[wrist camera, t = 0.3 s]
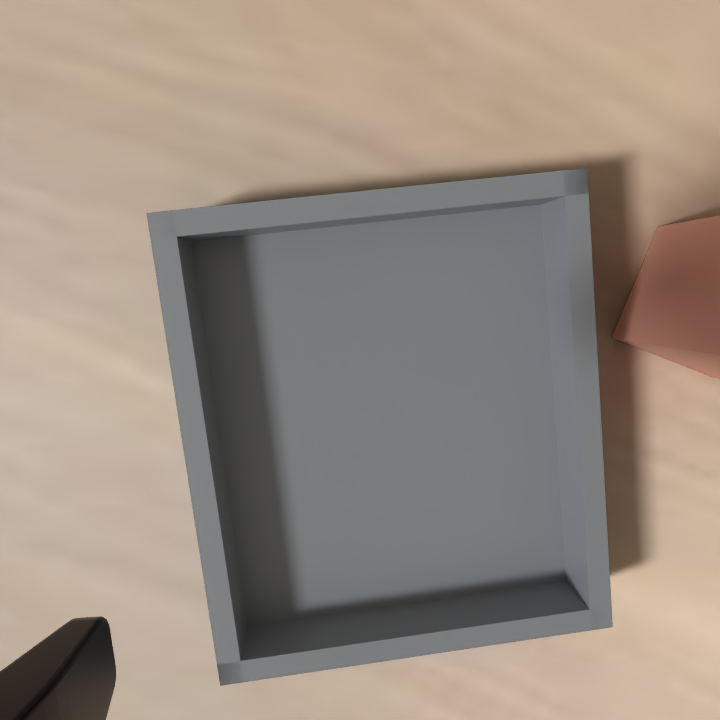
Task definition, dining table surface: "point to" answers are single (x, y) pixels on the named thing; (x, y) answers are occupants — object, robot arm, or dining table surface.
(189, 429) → the tray
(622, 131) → the dining table surface
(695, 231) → the pink and gray block
